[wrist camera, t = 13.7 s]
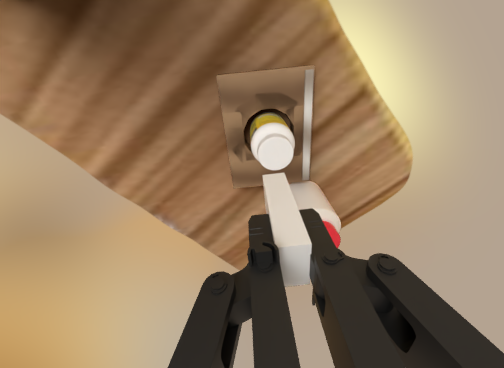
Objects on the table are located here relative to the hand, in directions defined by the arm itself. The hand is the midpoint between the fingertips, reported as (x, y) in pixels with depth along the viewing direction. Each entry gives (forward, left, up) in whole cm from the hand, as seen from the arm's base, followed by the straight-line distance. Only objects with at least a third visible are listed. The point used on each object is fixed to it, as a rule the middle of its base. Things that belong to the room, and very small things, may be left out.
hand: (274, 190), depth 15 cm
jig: (+1, +1, -19) cm, 19 cm away
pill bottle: (+14, +7, -19) cm, 25 cm away
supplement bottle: (+1, +1, -19) cm, 19 cm away
